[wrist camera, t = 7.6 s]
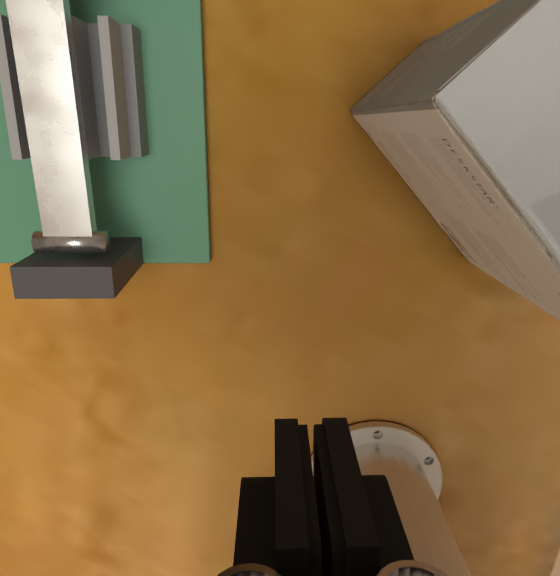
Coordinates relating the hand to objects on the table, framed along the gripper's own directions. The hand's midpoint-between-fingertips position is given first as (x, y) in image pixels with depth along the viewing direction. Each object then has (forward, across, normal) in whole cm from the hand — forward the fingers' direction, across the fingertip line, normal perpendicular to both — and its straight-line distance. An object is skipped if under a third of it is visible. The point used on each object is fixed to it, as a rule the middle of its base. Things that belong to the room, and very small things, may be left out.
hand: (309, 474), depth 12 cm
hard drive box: (+29, -12, -6) cm, 33 cm away
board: (+28, +13, -11) cm, 33 cm away
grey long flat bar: (+22, +13, -10) cm, 28 cm away
